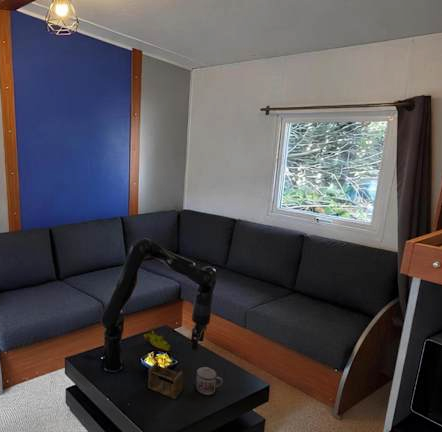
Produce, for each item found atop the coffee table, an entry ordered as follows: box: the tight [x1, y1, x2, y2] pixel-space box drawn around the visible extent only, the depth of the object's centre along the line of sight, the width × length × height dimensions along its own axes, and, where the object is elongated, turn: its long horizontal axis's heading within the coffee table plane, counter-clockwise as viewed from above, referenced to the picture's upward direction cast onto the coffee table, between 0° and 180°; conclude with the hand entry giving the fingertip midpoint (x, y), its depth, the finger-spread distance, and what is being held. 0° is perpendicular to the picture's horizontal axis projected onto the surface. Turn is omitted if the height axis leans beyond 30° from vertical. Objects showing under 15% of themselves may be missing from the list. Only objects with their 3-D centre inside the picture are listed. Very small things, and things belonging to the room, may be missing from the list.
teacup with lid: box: [195, 366, 223, 396], centre depth 190 cm, size 12×9×12 cm
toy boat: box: [143, 330, 171, 352], centre depth 228 cm, size 6×18×10 cm, turn 34°
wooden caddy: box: [147, 361, 184, 400], centre depth 191 cm, size 14×8×10 cm, turn 53°
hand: (197, 344), depth 178 cm, fingers open, 8 cm apart
